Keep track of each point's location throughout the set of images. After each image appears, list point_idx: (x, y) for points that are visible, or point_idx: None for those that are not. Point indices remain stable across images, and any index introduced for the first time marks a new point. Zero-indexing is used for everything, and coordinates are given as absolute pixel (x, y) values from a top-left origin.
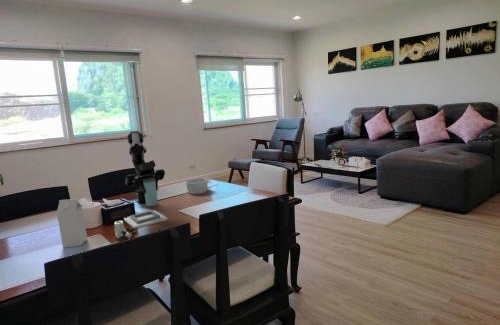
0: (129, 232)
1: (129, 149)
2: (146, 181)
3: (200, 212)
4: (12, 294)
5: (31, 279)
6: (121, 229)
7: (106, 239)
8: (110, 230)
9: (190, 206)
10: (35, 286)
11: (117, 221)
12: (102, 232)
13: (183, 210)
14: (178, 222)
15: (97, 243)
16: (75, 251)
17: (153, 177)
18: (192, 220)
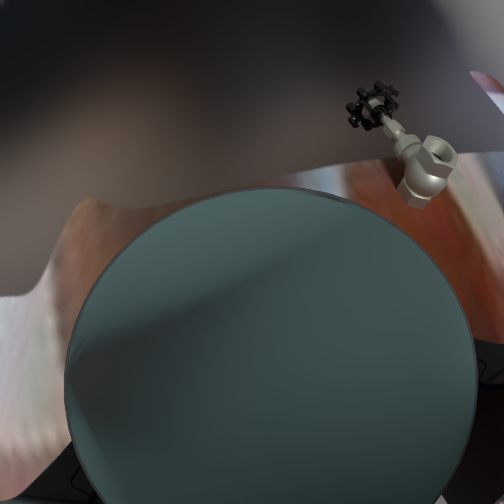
0: (373, 110)
1: None
2: (376, 218)
3: (8, 313)
4: (490, 77)
5: (497, 97)
6: (412, 136)
7: (455, 195)
8: (470, 292)
9: (18, 454)
10: (475, 75)
11: (450, 163)
12: (491, 283)
13: (57, 416)
14: (138, 227)
15: (469, 179)
16: (498, 161)
17: None
18: (77, 220)
